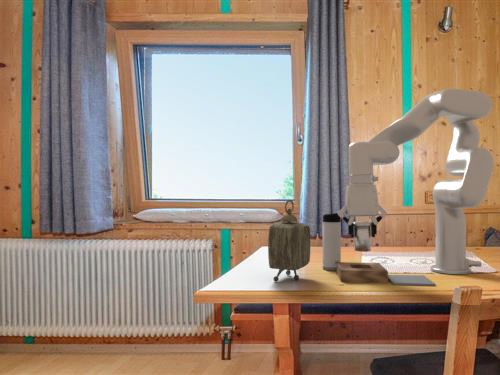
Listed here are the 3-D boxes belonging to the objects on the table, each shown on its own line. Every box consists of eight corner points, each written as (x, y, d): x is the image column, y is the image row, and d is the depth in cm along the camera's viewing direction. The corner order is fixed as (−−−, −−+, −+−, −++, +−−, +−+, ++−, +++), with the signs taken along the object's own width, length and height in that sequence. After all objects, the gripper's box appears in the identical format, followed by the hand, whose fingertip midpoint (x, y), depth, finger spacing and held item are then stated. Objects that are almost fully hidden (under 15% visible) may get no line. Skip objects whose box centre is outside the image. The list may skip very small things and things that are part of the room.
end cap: (370, 248, 143) (370, 221, 143) (374, 251, 137) (373, 223, 137) (352, 248, 144) (351, 221, 144) (354, 251, 138) (353, 223, 138)
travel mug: (341, 271, 150) (341, 213, 150) (322, 270, 152) (322, 212, 151) (341, 267, 156) (341, 211, 156) (322, 267, 158) (322, 211, 158)
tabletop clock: (285, 273, 146) (285, 198, 146) (311, 276, 142) (311, 199, 142) (268, 282, 133) (268, 200, 133) (296, 285, 129) (296, 200, 129)
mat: (423, 277, 140) (423, 275, 140) (435, 285, 128) (435, 283, 128) (385, 276, 141) (385, 274, 141) (393, 285, 129) (393, 282, 129)
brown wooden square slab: (379, 273, 146) (379, 262, 146) (387, 282, 133) (387, 271, 133) (336, 272, 148) (336, 262, 148) (340, 281, 134) (340, 270, 134)
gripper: (386, 180, 143) (387, 235, 143) (332, 181, 145) (334, 235, 145) (391, 180, 135) (392, 238, 136) (335, 181, 137) (336, 238, 137)
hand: (362, 236), depth 140 cm, fingers closed on end cap, 6 cm apart
